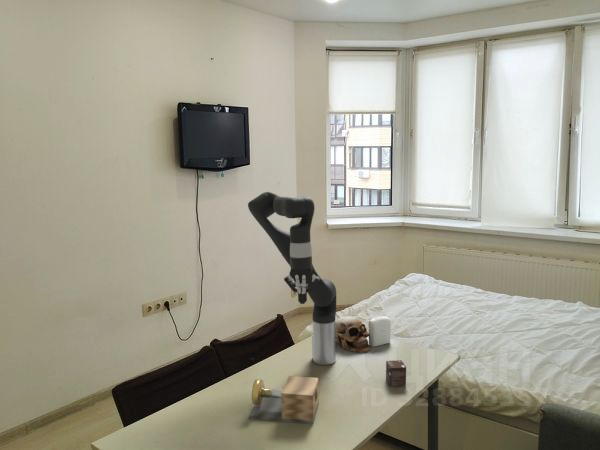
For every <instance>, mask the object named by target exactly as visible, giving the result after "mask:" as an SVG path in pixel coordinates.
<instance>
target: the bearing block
mask: <svg viewBox="0 0 600 450" xmlns="http://www.w3.org/2000/svg"><path fill="white" fill-rule="evenodd" d="M319 385H320V384H319V377H309V376H308V377H307V376H298V375H296V376H294V375H289V376H288V378H287V380H286V382H285V384H284V386H283V388H282V389H283V390H282V393H281V399H277V398H264V397H263V401H262V404H261V405H253V406H252V408H251V410H250V412H249V413H248V419H252V420H260V421H261V420H262V421H263V420H264V421H277V422H286V423H296V424H297V423H298V424H309V425H311V424H312V425H314V423H315V419H316V416H317V412H318V409H319V405H320V403H319V402H320V401H319V400H320V399H319V394H320V392H319V391H320V389H319Z"/></svg>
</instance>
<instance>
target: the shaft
mask: <svg viewBox="0 0 600 450" xmlns="http://www.w3.org/2000/svg"><path fill="white" fill-rule="evenodd" d="M282 390H283V388H270V387H268V388H267V387H265V381H264V380H263V379H255V380H254V381H253V385H252V389H251V402H252V405H253V406H254V405H261V404H262V401H263V397H264V398H277V399H281V393H282Z"/></svg>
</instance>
